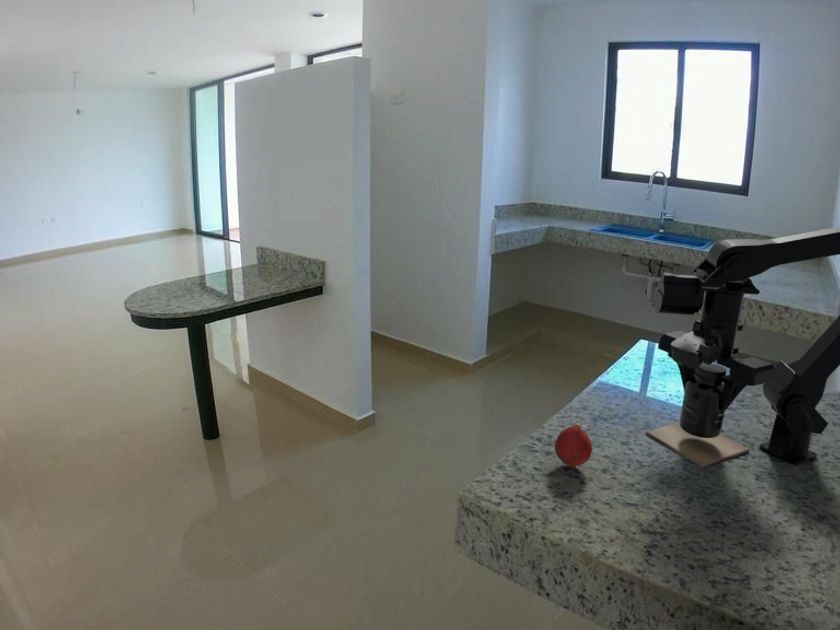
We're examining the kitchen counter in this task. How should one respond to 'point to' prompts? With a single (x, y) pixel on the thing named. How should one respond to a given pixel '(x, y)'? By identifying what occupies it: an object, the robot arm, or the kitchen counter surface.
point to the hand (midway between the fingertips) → (704, 401)
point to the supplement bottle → (703, 402)
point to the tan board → (697, 445)
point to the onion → (573, 446)
